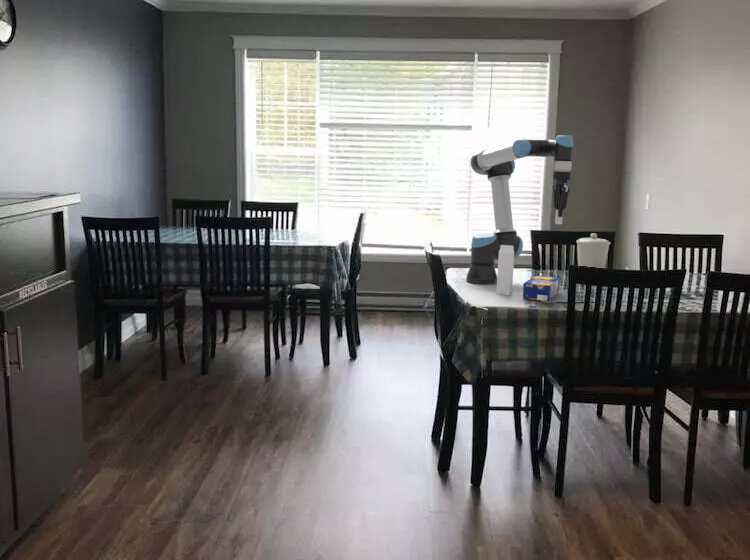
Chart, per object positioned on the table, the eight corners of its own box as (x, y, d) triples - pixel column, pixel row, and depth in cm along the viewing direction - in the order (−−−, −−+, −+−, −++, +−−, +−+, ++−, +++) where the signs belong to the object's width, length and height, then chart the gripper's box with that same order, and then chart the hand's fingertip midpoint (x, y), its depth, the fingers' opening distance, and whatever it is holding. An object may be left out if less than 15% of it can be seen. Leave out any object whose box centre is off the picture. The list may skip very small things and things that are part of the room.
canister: (615, 273, 402) (618, 234, 398) (590, 275, 394) (593, 235, 390) (591, 268, 418) (594, 231, 414) (566, 269, 409) (569, 231, 406)
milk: (498, 291, 339) (501, 244, 335) (512, 293, 337) (514, 245, 333) (496, 294, 333) (498, 245, 330) (509, 295, 331) (512, 246, 328)
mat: (543, 303, 316) (544, 302, 316) (523, 292, 339) (523, 291, 339) (600, 302, 320) (600, 301, 320) (576, 292, 343) (576, 291, 343)
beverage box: (558, 292, 337) (547, 301, 318) (534, 290, 342) (522, 298, 322) (559, 278, 336) (548, 285, 317) (535, 275, 341) (523, 283, 321)
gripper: (576, 171, 322) (572, 225, 326) (564, 170, 335) (560, 222, 339) (560, 171, 321) (556, 225, 325) (548, 170, 333) (544, 222, 338)
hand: (558, 223), depth 332 cm, fingers closed
